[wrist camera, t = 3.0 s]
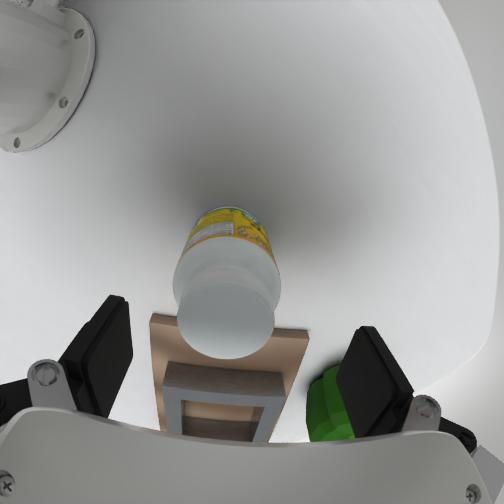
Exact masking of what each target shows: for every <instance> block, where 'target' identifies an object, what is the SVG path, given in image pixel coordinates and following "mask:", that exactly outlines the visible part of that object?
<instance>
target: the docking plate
mask: <svg viewBox="0 0 504 504" xmlns="http://www.w3.org/2000/svg"><path fill="white" fill-rule="evenodd" d="M149 327H150V343H151V356H152V368H153V378H154V387H155V395H156V403H157V410H158V417H159V424H160V430H161V431H163V432H167V428H166V420H165V411H164V402H163V391H162V384H163V379H164V375H165V371H166V367H167V363H168V361H173V362H180V363H187V364H194V365H202V366H211V367H220V368H230V369H242V370H255V371H273V372H282V377H283V382H284V387H285V393H286V399H285V401H284V404H283V406H282V409H281V411H280V413H279V416H278V418H277V420H276V423H275V425H274V427H273V430H274V428H275V426H276V424H277V421H278V419H279V417H280V414H281V412H282V410H283V407H284V405H285V402H286V400H287V398H288V395H289V393H290V390H291V388H292V385H293V383H294V380H295V377H296V375H297V372H298V370H299V367H300V364H301V362H302V359H303V356H304V354H305V351H306V348H307V345H308V342H309V340H310V339H309V336H308V333H307V331H306V330H290V329H276V328H274V329H273V332H272V335H271V337H270V339H269V340H268V341H267V343H266V344H265V345H264V346H263V347H262V348H260V349H259V350H258V351H256V352H254V353H253V354H250V355H248V356H245V357H242V358H237V359H218V358H213V357H209V356H207V355H204V354H202V353H200V352H198V351H196V350H195V349H193V348H192V347H191V346H190V345H189V344H188V343H187V342H186V341H185V340H184V338H183V337H182V335H181V333H180V331H179V328H178V322H177V317H171V316H164V315H158V314H152V317H151V319H150V322H149ZM254 407H255V406H237V405H224V404H214V403H204V402H196V401H188V400H185V416H190V417H198V418H207V419H217V420H229V421H246V422H250V420H251V417H252V414H253V410H254ZM273 430H272V432H271V434H270V436H269V439H270V437H271V435H272V433H273ZM269 439H268V441H269ZM268 441H267V443H268Z"/></svg>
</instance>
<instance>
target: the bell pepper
mask: <svg viewBox="0 0 504 504" xmlns="http://www.w3.org/2000/svg"><path fill="white" fill-rule="evenodd" d="M339 367H340V365H337V366H333V367H332V368H330V369H329V370H327V371H326V372H324V376H323V378H321V379H318V380H316V381H315V382H314V383H313V384H312V385H311V386H310V388H309V390H308V392H307V402H306V424H307V429H308V434H309V439H310V442H323V441H336V440H347V439H355V436H354V433H353V430H352V427H351V424H350V421H349V418H348V415H347V412H346V409H345V406H344V403H343V401H342V398H341V395H340V392H339V389H338V386H337V383H336V374H337V372H338V370H339Z"/></svg>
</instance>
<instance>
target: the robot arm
mask: <svg viewBox="0 0 504 504" xmlns="http://www.w3.org/2000/svg"><path fill="white" fill-rule="evenodd" d="M59 3H60V0H22V2H21V5H17V4H15V3H13V2H10V1H8V0H0V148H1V149H3V150H5V151H8V152H14V153H16V152H24V151H28V150H32V149H35V148H37V147H39V146H41V145H43V144H44V143H46V142H47V141H48V140H49V139H51V138H52V137H53V136H54V135H55V134H56V133H57V132H58V131H59V130H60V129H61V128H62V127H63V126H64V125H65V123H66V122H67V120H68V119H69V118H70V116H71V115H72V114H73V112H74V111H75V109H76V107H77V105H78V103H79V102H80V100H81V98H82V96H83V94H84V91H85V89H86V86H87V84H88V82H89V78H90V75H91V71H92V68H93V63H94V56H95V38H94V33H93V29H92V27H91V25H90V24H89V22H88V20H87V19H86V18H85V17H84V16H82V15H81V14H80V13H78V12H76V11H75V10H73V9H69V8H65V7H62V8H58V6H59ZM132 358H133V347H132V338H131V328H130V316H129V304H128V302H127V301H125V299H124V298H123V297H120V296H115V295H109V296H108V298H107V299H106V300H105V302H104V303H103V304H102V305H101V307H100V308H99V309H98V311H97V312H96V313H95V314H94V316H93V317H92V318H91V320H90V321H89V322H87V323H86V324H84V326H83V327H82V328H81V330H80V331H79V332H78V334H77V335H76V337H75V338H74V339H73V341H72V342H71V343H70V345H69V346H68V348H67V349H66V350H65V352H64V353H63V355H62V356H61V358H60V359H59V360H58V362H56V361H54V360H50V359H43V360H40V361H37V362H35V363H34V364H32V366H31V367H30V368H29V370H28V374H27V378H26V379H22V380H18V381H14V382H11V383H7V384H2V385H0V504H494V502H495V500H496V498H497V496H498V494H499V492H500V490H501V488H502V486H503V483H504V464H503V463H502V462H501V461H500V460H498V459H497V458H496V457H495V456H494V455H492V454H491V453H490V452H489V451H487V450H486V449H485V448H483V447H482V446H481V445H479V446H478V447H477V440H476V437H475V436H474V434H473V433H472V432H471V431H470V430H468V429H467V428H464V427H462V426H460V425H458V424H456V423H453V422H451V421H449V420H447V419H445V418H443V417H441V408H440V405H439V404H438V402H437V401H436V400H435V399H433V398H432V397H430V396H427V395H418V396H416V397H413V395H412V394H413V392H414V390H413V388H412V386H411V384H410V383H409V381H408V379H407V378H406V376H405V374H404V373H403V371H402V369H401V368H400V366H399V365H398V363H397V361H396V360H395V358H394V356H393V355H392V353H391V352H390V350H389V349H388V347H387V345H386V344H385V342H384V341H383V339H382V338H381V336H380V334H379V333H378V331H377V330H376V328H375V327H373V326H361V327H360V328H359V329H357V330H356V331H355V333H354V336H353V338H352V340H351V343H350V345H349V347H348V350H347V352H346V354H345V357H344V359H343V361H342V363H341V365H340V367H339V370H338V372H337V374H336V383H337V386H338V389H339V392H340V395H341V398H342V401H343V403H344V406H345V409H346V412H347V415H348V418H349V421H350V424H351V427H352V430H353V433H354V436H355V439H347V440H336V441H323V442H306V443H305V442H303V443H261V442H241V441H228V440H217V439H208V438H200V437H193V436H186V435H180V434H174V433H168V432H163V431H158V430H153V429H149V428H144V427H139V426H135V425H131V424H127V423H123V422H119V421H115V420H111V419H108V416H109V414H110V411H111V409H112V406H113V404H114V401H115V399H116V396H117V394H118V391H119V389H120V387H121V384H122V382H123V380H124V377H125V375H126V373H127V370H128V368H129V366H130V364H131V361H132Z"/></svg>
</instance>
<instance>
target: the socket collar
mask: <svg viewBox="0 0 504 504" xmlns="http://www.w3.org/2000/svg"><path fill="white" fill-rule="evenodd" d="M162 391H163V402H164V411H165V420H166V428H167V432H168V433H174V434H180V435H186V436H193V437H200V438H208V439H217V440H228V441H241V442H261V443H267V441H268V439H269V436H270V434H271V432H272V430H273V427H274V425H275V423H276V420H277V418H278V416H279V413H280V411H281V409H282V406H283V404H284V401H285V399H286V393H285V387H284V382H283V377H282V372H273V371H255V370H242V369H230V368H220V367H211V366H202V365H194V364H187V363H180V362H173V361H168V363H167V367H166V371H165V375H164V379H163V384H162ZM185 400H188V401H196V402H204V403H214V404H224V405H237V406H255V407H254V410H253V414H252V417H251V420H250V422H246V421H229V420H217V419H207V418H198V417H190V416H185Z"/></svg>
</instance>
